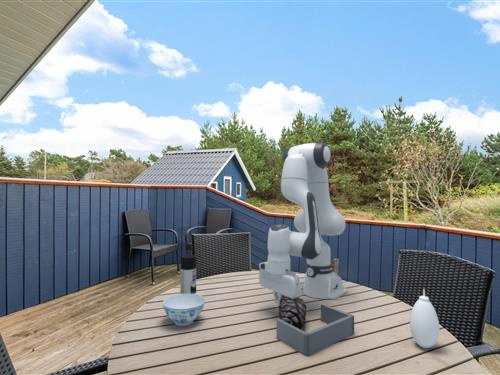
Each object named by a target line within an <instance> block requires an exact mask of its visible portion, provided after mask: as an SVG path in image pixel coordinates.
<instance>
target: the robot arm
mask: <svg viewBox="0 0 500 375" xmlns="http://www.w3.org/2000/svg"><path fill="white" fill-rule="evenodd" d="M331 155H332V152H331V148H330V147H329V145H328V144H327V143H324V142H316V143H315V142H311V143H310V142H309V143H303V144H297V145H295V146H293V145H291V146H289V147H286V148H285V150H284V151H283V152H282V156H281V157H282V163H283V166H282V172H281V179H280V191H281V194H282V196H283V197H284V198H285V199H286V200H288V201H289V202H291V203H293V204H296V205H298V206H300V208H302V211H298V212H296V214H295V216H294V220H293V225H294V227H295V229H296V230H297V231H292V230H290V227H289V225H288V224H284V223H278V224H274V225H272V226H270V227H269V230H268V234H267V250H268V255H267V260H266V261H264V262H260V263H258V266H259V270H258V271H259V272H258V283H259V285H260V287H263V288H266V289H268V290H270V291H272V295H273V298H274V303H275V304H277V305H278V306H279V305H280V302H281V300H282V298H284V297H285V296H287V297H289V298H291V299H296V298H299V297H300V298H301V294H302V293H303V295H305V296H307V297H310V298H314V299H321V300H322V299H328V300H329V299H330V300H336V299H338V298H339V297H341V296H343V295H344V294H347V293H348V292H349V289H347V288H346V287H345V286H343V285H344V284H343V280H342V278H341V277H340V276H339V275H338V274H337V273H336V272H334V269H337V265H336V264H335V263H331V262H332V261H331V260H332V259H331V254H332V253H331V251H332V250H331V247H330V246H329V244H328V243H326V242H325V241H324V239H323V238H322V236H340V235H342V234H343V233H344V231H345V229H346V227H347V226H346V220H345V217H344V215H343V214H341V213H340V212H339V211H338V210H337V209H336V208H335V206H334V205H333V203H332V199H331V196H330V187H329V175H328V170H327V166H328V165H329V162H330V161H331V157H332V156H331ZM291 256H292V257H297V258H299V257H300V258H302V259H306V263H305V271H306V272H305V274H304V284H303V286H302V290H303V291H302V290H301V281H300V276H299V275H298V274H297V273H296V272H295V271H292V270H291V265H292V264H291V262H292V261H291V260H292V259H291Z"/></svg>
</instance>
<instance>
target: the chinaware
mask: <svg viewBox="0 0 500 375" xmlns="http://www.w3.org/2000/svg"><path fill="white" fill-rule="evenodd" d="M205 303H206V298H205V297H204V296H203V295H200V294H197V293H196V294H180V293H179V294H174V295H171V296H169V297H167V298H165V299H163V301H162V306H163V310H164V312H165V314H166V316H167V317H168V318H169V319H170V320H171V321H173V323H174V324H175V325H176V326H180V327H185V326H190V325H191V324H193V323H194V320H195V319H197V318H199V316H200V314H201V313H202V311H203V309H204V306H205Z"/></svg>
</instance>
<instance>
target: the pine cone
mask: <svg viewBox="0 0 500 375" xmlns="http://www.w3.org/2000/svg"><path fill="white" fill-rule="evenodd" d="M307 308H308V306H307V304H306V302H305V300H304V299H303V298H301V296H300V297H299V298H296V299H291V298H289V297H287V296H285V297H284V298H282V300H281V302H280V305H279V304H278V319H281V320H283V321H285V322H287V323H289V324H290V325H292V326H294V327H296V328H298V329H300V330H302V331H303V328H304V323H305V321H306V316H307Z"/></svg>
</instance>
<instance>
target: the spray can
mask: <svg viewBox="0 0 500 375" xmlns="http://www.w3.org/2000/svg"><path fill="white" fill-rule="evenodd" d="M179 270H180V276H179V277H180V290H179V291H180V293H179V294H197V255H192V254H184V255H181V256H180V269H179Z"/></svg>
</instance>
